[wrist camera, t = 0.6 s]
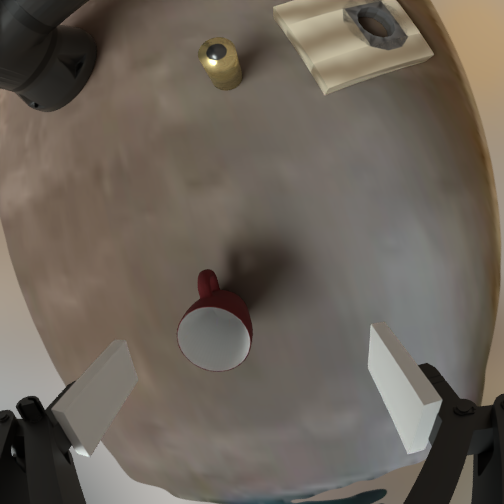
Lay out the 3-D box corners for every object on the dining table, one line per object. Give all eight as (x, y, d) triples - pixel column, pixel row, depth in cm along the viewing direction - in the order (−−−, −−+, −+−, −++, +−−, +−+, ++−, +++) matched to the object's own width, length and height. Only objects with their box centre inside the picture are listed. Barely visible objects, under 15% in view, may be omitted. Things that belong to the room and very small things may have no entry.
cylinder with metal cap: (207, 72, 34) (192, 47, 26) (234, 59, 34) (225, 31, 26) (219, 95, 35) (207, 73, 27) (247, 82, 34) (241, 57, 26)
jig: (273, 17, 32) (273, 7, 29) (375, -9, 29) (380, -19, 26) (324, 95, 34) (328, 88, 31) (425, 61, 31) (434, 54, 28)
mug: (180, 273, 40) (153, 298, 30) (234, 251, 39) (222, 272, 29) (212, 339, 42) (196, 379, 32) (265, 322, 41) (262, 360, 31)
